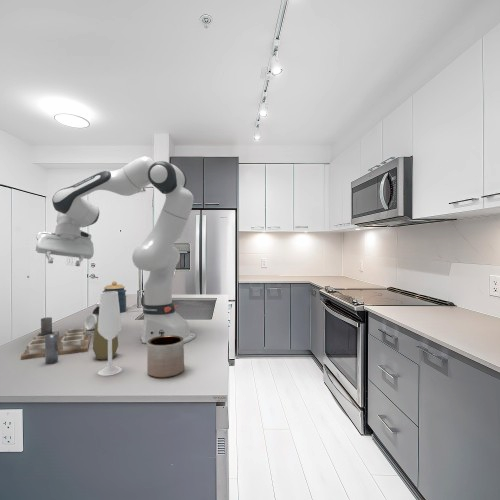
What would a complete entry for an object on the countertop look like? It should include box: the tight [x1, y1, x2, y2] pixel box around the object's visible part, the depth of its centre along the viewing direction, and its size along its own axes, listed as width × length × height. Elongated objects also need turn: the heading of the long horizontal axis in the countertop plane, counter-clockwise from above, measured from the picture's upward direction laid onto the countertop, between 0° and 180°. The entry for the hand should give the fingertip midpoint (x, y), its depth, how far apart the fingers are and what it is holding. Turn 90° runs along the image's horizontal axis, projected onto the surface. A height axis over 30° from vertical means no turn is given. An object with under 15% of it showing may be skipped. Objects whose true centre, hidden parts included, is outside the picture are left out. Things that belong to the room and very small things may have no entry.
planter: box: [146, 335, 185, 379], centre depth 96 cm, size 11×11×10 cm
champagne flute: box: [97, 291, 123, 377], centre depth 97 cm, size 7×7×24 cm
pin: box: [44, 333, 59, 365], centre depth 104 cm, size 4×4×9 cm
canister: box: [102, 281, 128, 314], centre depth 185 cm, size 13×13×18 cm
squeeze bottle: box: [92, 316, 119, 360], centre depth 109 cm, size 8×8×18 cm
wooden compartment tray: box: [20, 316, 92, 360], centre depth 120 cm, size 20×20×10 cm
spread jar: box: [84, 301, 100, 331], centre depth 148 cm, size 12×11×12 cm
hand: (64, 264), depth 125 cm, fingers open, 8 cm apart
